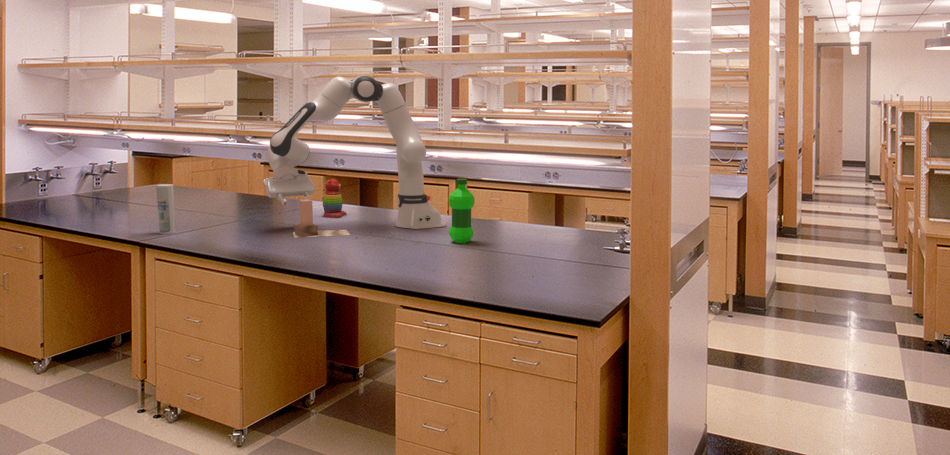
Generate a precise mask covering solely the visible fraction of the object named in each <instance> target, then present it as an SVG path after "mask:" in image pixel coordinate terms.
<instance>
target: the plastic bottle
mask: <svg viewBox="0 0 950 455" xmlns="http://www.w3.org/2000/svg"><path fill="white" fill-rule="evenodd" d="M467 184H468V178H457V179H456V185H457V188H456V189H455V190H454V191H453V192H451V193H450V194H449V196H448V205H449V207H450V208H451V226H450V229H449V238H451V240H452V241H454V243H457V244H466V242H467V243H468V242H470V241H471V240H472V238H473V236H474V228H473V227H472V209H473V207H474V206H475V196H474V194H473V193H472V192H471V191H470V190H469V189H468V188H467Z"/></svg>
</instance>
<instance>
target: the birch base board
mask: <svg viewBox="0 0 950 455" xmlns="http://www.w3.org/2000/svg"><path fill="white" fill-rule="evenodd" d="M292 234H293V237H294V238H295V239H297V238H302V237H301V236H298V235H296V234H295V231H292ZM333 236H334V237H336V236H339V237H340V236H351V234H350V232H349V231H348V230H347V229H330V230H329V229H326V230H318V235H315V236H306V237H305V238H316V237H333Z"/></svg>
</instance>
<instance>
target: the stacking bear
mask: <svg viewBox="0 0 950 455" xmlns="http://www.w3.org/2000/svg"><path fill="white" fill-rule="evenodd" d="M324 186H325V192H324V194H323V197H322V208H323V211H324V212H323V214H322V215H323V217H324V218H329V219H331V218H333V219H339V218H342V217H345V216H347V212H346V211H344V210H342V209H343V204H344V203H343V202H344V201H343V196H342V193H341V191H340V189H341V187H342V185H341V183H340V182H339V181H338V180H337V179H335V178H332V179H330V178H329V179H327V181H325V184H324ZM344 215H345V216H344Z"/></svg>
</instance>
